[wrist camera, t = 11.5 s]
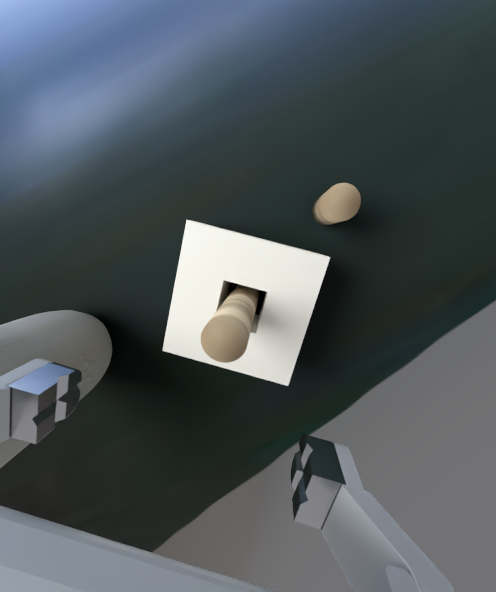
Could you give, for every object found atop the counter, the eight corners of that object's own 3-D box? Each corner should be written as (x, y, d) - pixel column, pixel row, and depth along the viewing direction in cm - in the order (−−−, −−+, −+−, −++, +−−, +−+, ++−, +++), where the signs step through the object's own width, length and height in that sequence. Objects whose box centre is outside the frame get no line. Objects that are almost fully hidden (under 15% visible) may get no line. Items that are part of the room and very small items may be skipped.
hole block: (204, 223, 28) (186, 219, 22) (318, 253, 28) (330, 257, 22) (182, 329, 31) (162, 350, 26) (285, 358, 31) (287, 385, 25)
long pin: (236, 278, 29) (205, 312, 16) (262, 284, 29) (252, 325, 16) (230, 302, 30) (196, 355, 16) (255, 309, 30) (241, 367, 16)
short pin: (317, 192, 26) (330, 179, 21) (345, 199, 26) (366, 188, 21) (308, 221, 27) (318, 216, 21) (336, 228, 27) (353, 225, 21)
